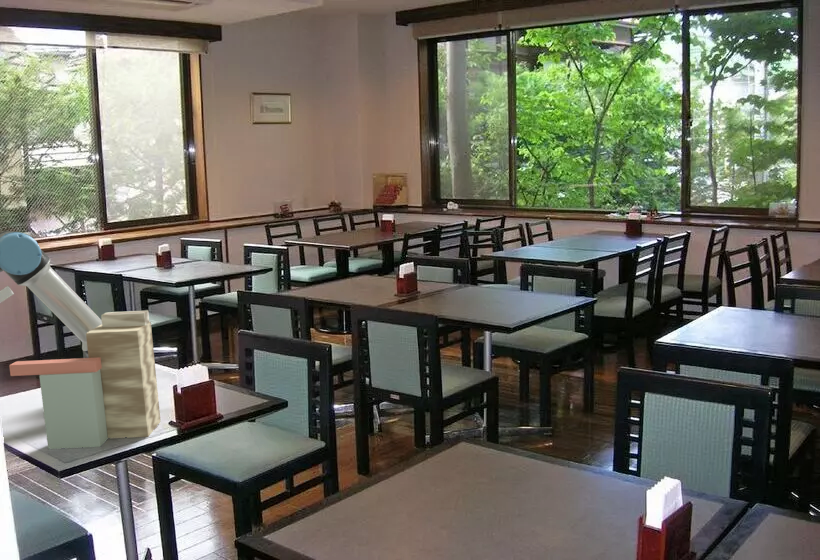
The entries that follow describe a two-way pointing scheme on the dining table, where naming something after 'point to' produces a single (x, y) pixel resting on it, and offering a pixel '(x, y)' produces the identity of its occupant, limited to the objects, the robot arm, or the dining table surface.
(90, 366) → the stub
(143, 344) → the tall wood-grain block
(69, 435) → the block
